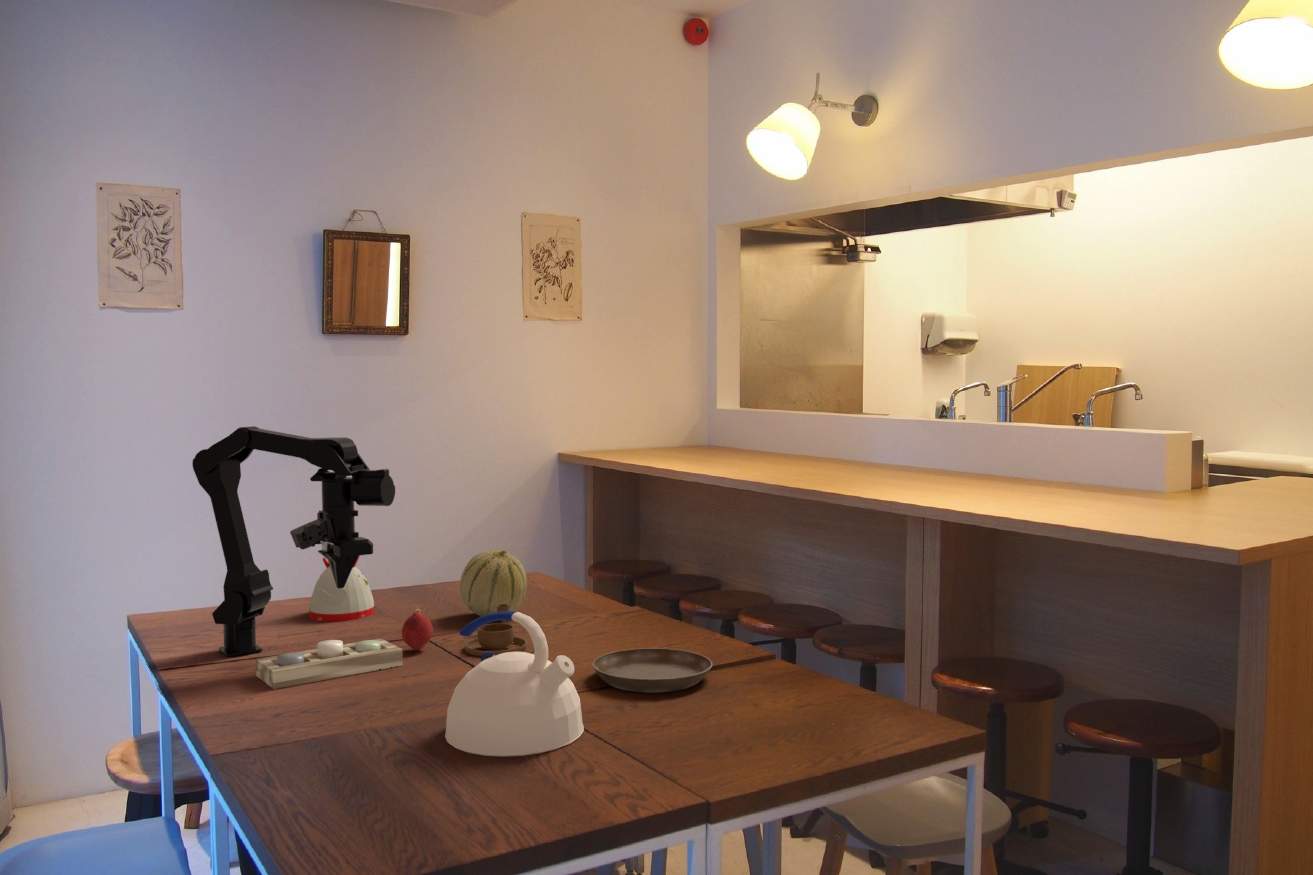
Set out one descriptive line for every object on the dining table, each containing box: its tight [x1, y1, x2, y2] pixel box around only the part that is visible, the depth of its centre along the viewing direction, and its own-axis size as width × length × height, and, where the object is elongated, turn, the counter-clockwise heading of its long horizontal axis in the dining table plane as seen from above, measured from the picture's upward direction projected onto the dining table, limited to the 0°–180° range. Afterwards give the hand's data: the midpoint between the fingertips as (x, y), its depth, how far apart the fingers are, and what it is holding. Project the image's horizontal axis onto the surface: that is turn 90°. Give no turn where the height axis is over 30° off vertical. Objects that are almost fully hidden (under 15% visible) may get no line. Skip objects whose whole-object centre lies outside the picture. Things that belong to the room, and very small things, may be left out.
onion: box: [401, 608, 434, 652], centre depth 197 cm, size 6×6×8 cm
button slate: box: [276, 652, 304, 667], centre depth 180 cm, size 4×4×2 cm
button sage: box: [355, 639, 381, 653], centre depth 188 cm, size 4×4×2 cm
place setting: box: [463, 604, 535, 658], centre depth 202 cm, size 18×20×6 cm
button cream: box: [316, 639, 344, 659], centre depth 184 cm, size 4×4×2 cm
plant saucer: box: [592, 647, 713, 694], centre depth 177 cm, size 21×21×3 cm
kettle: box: [444, 610, 585, 758], centre depth 151 cm, size 20×21×18 cm
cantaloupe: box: [459, 549, 528, 617], centre depth 225 cm, size 15×15×15 cm
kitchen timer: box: [308, 555, 375, 622], centre depth 229 cm, size 14×14×15 cm
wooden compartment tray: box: [255, 638, 404, 690], centre depth 184 cm, size 10×23×3 cm, turn 127°
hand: (340, 588), depth 193 cm, fingers closed
